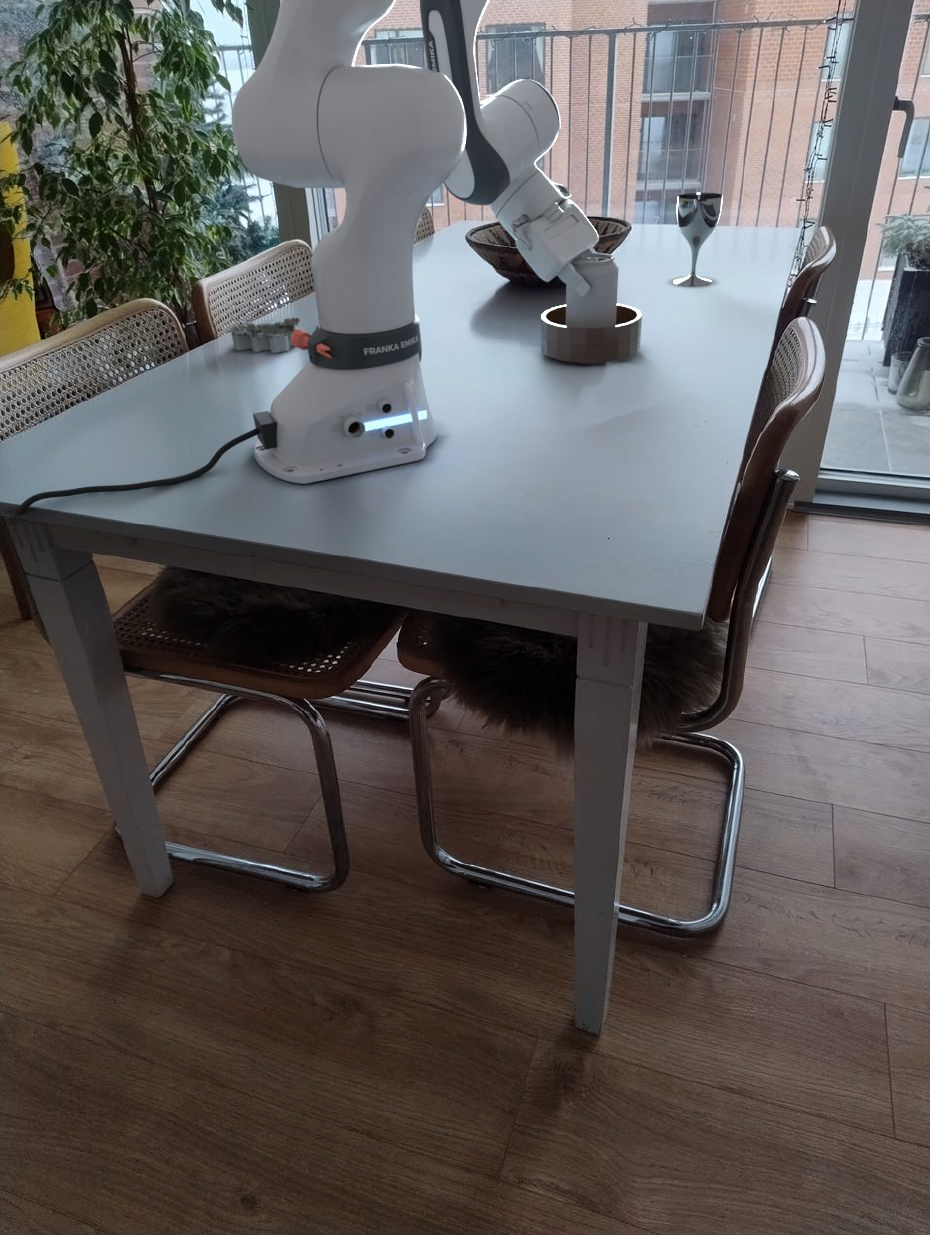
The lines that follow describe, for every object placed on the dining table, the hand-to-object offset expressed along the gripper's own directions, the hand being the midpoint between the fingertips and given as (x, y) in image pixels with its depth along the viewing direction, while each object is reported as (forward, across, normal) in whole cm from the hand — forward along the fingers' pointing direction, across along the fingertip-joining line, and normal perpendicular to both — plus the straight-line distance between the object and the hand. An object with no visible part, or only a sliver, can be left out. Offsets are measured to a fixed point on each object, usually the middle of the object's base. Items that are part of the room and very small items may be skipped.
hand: (596, 285), depth 127 cm
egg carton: (-30, -9, +45) cm, 55 cm away
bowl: (+6, 0, +7) cm, 10 cm away
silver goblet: (+12, +47, +3) cm, 49 cm away
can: (+5, 0, +6) cm, 8 cm away
